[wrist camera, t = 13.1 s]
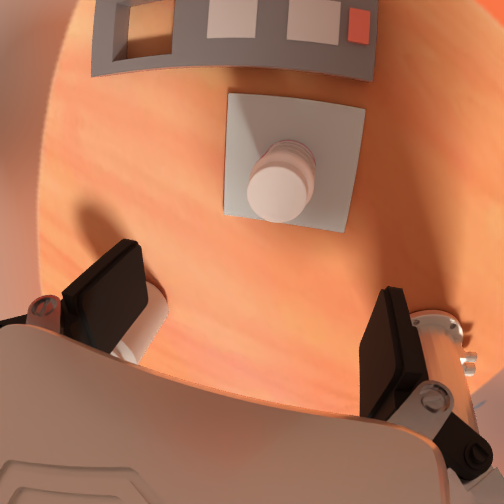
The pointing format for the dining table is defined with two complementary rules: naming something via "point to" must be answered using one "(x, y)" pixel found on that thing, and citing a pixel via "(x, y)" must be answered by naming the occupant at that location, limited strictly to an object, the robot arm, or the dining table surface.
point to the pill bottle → (282, 181)
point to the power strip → (247, 36)
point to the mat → (306, 132)
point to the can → (143, 328)
